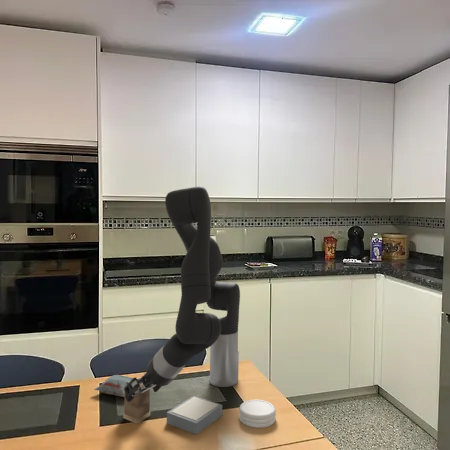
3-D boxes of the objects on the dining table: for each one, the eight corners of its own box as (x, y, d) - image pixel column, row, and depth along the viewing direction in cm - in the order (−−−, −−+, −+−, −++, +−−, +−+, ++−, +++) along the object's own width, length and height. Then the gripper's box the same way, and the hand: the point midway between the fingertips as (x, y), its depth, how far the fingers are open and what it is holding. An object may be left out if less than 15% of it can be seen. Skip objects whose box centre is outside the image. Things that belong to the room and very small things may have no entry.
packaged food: (125, 403, 126) (125, 386, 125) (93, 395, 130) (93, 379, 130) (142, 391, 134) (142, 376, 133) (112, 385, 138) (112, 370, 138)
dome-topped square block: (136, 410, 121) (137, 379, 120) (150, 415, 118) (150, 383, 118) (123, 418, 117) (123, 385, 116) (137, 423, 114) (137, 390, 113)
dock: (193, 405, 124) (193, 395, 124) (222, 415, 119) (222, 404, 119) (166, 423, 114) (166, 411, 114) (196, 434, 109) (196, 422, 109)
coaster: (245, 431, 111) (245, 418, 111) (234, 412, 121) (235, 400, 121) (281, 426, 114) (281, 413, 114) (267, 408, 123) (268, 397, 123)
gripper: (182, 344, 114) (156, 374, 122) (137, 357, 104) (112, 388, 112) (195, 369, 110) (167, 398, 119) (149, 385, 100) (123, 415, 109)
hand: (141, 393), depth 116 cm, fingers open, 8 cm apart
